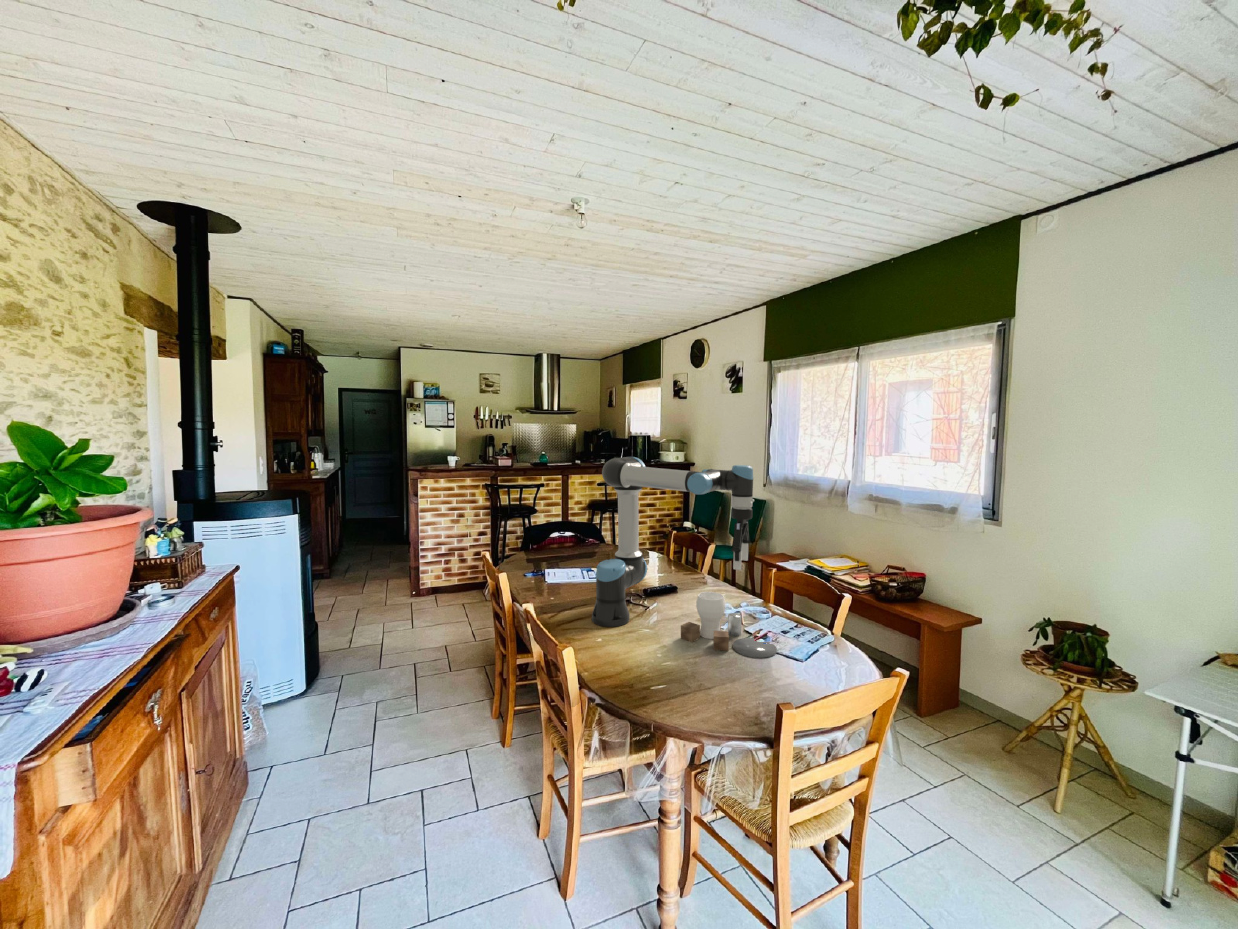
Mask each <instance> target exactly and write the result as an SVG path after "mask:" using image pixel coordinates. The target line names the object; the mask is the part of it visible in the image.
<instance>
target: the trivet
mask: <svg viewBox="0 0 1238 929" xmlns="http://www.w3.org/2000/svg"><path fill="white" fill-rule="evenodd" d="M755 640H756V639H755ZM763 643H767V644H763ZM769 643H771V642H770V641H768V642H757V641H754V637H742V638H739V639H736V640H734V641H733V642H732V649H733V650H734V651H735V653H738V654H739V655H742V656H743V657H744V656H745V657H749V658H753V659H754V658H755V659H767V658H771V657H774V656H775V655H776V654H777V652H778V649H777V645H775V644H774V643H772V644H769Z"/></svg>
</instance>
